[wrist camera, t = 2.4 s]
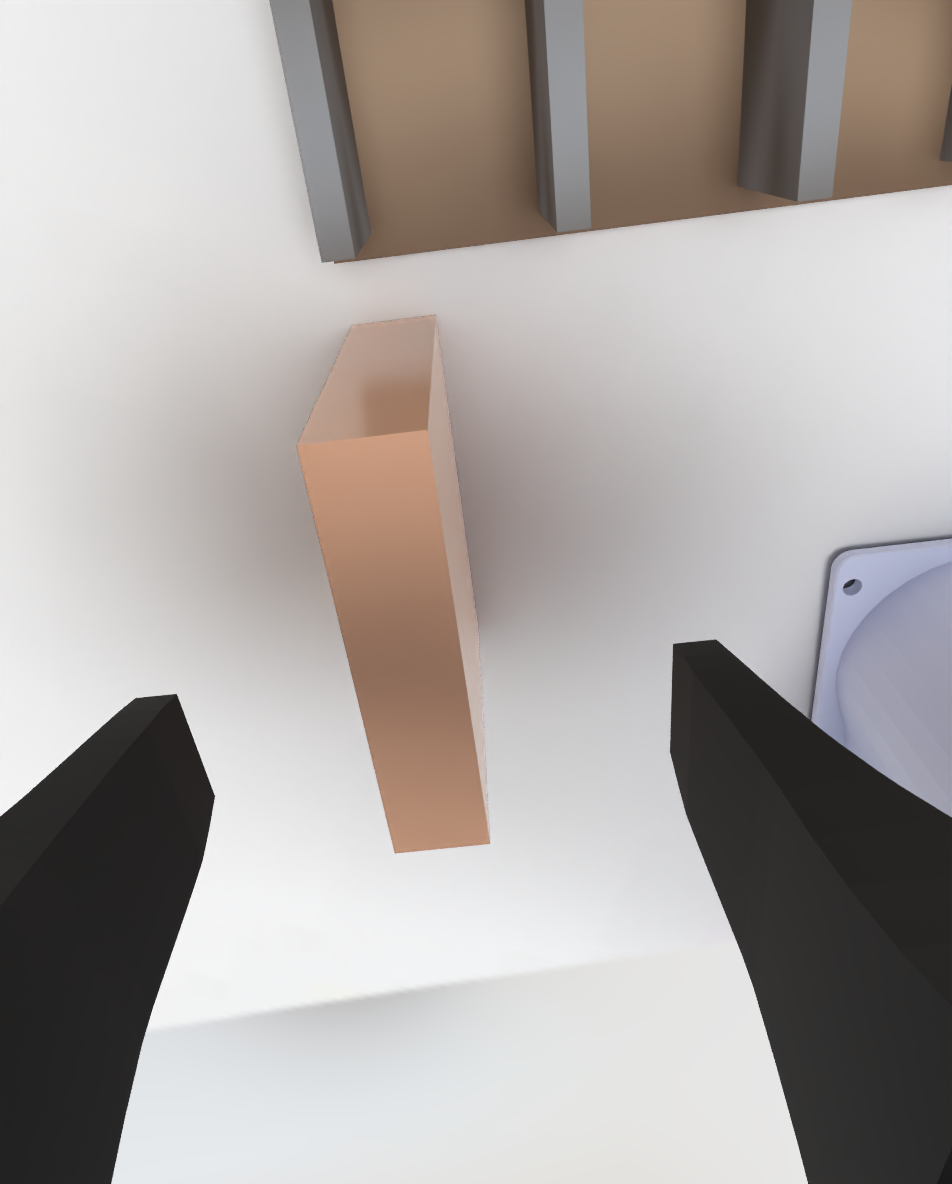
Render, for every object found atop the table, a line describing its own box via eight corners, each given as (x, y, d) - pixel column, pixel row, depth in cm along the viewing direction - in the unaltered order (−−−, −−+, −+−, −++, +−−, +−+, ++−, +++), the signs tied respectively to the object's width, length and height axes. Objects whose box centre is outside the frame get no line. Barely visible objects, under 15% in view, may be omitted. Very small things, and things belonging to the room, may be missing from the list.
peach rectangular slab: (478, 630, 24) (490, 843, 17) (411, 637, 24) (394, 853, 17) (435, 314, 19) (427, 430, 12) (352, 324, 19) (296, 445, 12)
